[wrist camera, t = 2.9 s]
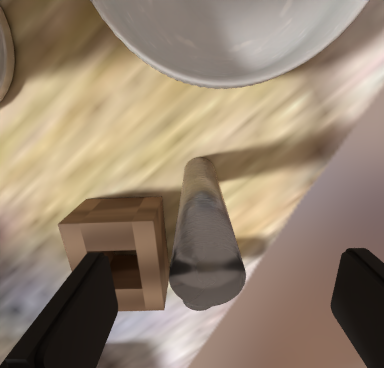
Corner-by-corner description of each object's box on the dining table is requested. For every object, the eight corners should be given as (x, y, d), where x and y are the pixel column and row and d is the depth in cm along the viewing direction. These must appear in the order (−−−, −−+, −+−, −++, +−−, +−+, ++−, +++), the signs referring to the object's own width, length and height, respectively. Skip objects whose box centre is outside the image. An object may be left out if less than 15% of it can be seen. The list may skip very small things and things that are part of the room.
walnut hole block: (85, 199, 23) (57, 224, 18) (161, 196, 23) (153, 221, 18) (103, 274, 26) (83, 312, 22) (169, 272, 26) (164, 310, 21)
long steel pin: (183, 157, 21) (165, 247, 8) (214, 156, 21) (247, 244, 8) (185, 186, 22) (171, 307, 9) (214, 185, 22) (244, 305, 9)
